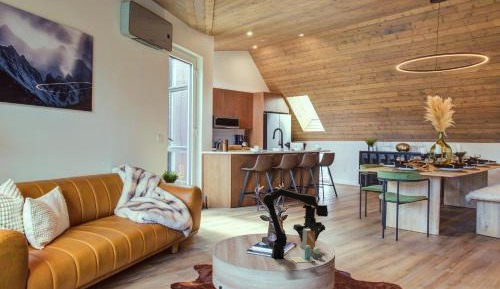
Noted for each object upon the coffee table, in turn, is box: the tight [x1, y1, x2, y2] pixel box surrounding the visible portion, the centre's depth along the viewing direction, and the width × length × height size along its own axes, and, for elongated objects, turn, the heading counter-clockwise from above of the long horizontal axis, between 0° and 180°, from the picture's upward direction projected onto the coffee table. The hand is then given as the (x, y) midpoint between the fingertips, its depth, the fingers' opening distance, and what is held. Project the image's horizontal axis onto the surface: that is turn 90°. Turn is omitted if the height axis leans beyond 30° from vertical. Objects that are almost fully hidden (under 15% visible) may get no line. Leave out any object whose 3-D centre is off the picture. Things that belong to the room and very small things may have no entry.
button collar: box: [311, 251, 323, 260], centre depth 221 cm, size 5×5×2 cm
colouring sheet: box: [289, 256, 316, 264], centre depth 216 cm, size 13×8×1 cm, turn 107°
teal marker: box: [303, 245, 312, 260], centre depth 217 cm, size 4×4×8 cm
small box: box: [299, 229, 316, 250], centre depth 239 cm, size 8×6×13 cm
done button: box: [313, 246, 321, 255], centre depth 221 cm, size 4×4×4 cm
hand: (308, 241), depth 216 cm, fingers open, 9 cm apart
